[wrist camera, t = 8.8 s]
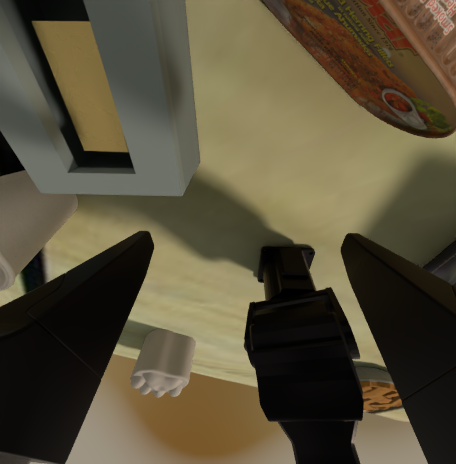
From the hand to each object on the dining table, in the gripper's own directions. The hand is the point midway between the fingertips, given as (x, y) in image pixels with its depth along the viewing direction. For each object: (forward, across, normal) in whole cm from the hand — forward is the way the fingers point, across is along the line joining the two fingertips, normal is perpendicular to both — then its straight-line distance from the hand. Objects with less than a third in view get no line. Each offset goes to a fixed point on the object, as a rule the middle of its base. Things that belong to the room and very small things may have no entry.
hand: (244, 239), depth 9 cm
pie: (+14, -28, +56) cm, 64 cm away
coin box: (+12, +9, -6) cm, 16 cm away
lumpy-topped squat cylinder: (+13, +16, +40) cm, 45 cm away
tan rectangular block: (+11, +9, -6) cm, 15 cm away
